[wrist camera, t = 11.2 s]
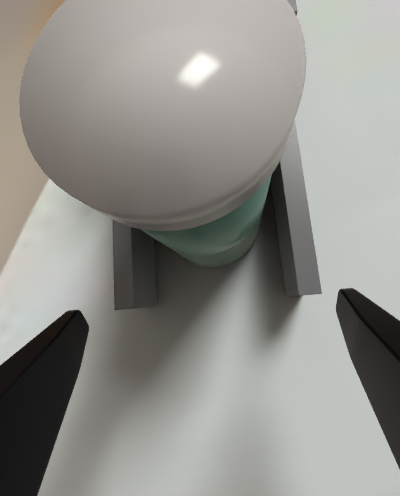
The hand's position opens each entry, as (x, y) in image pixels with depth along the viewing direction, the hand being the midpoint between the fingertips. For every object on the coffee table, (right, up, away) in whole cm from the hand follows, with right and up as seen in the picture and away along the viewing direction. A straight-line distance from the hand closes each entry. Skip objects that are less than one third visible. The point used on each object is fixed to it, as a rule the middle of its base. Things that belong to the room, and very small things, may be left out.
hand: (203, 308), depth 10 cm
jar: (+1, +4, +9) cm, 9 cm away
